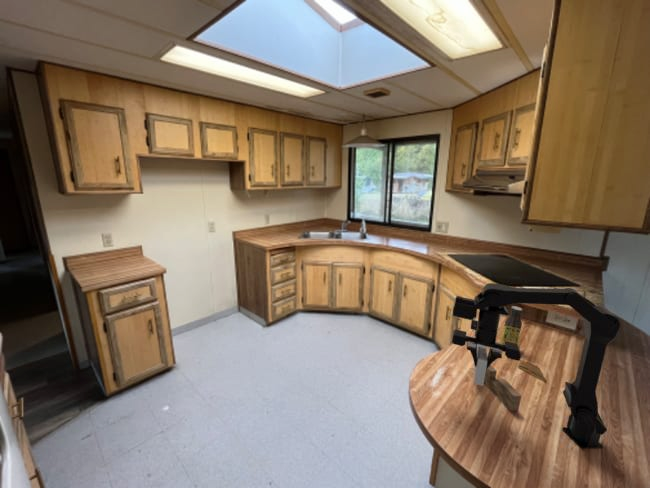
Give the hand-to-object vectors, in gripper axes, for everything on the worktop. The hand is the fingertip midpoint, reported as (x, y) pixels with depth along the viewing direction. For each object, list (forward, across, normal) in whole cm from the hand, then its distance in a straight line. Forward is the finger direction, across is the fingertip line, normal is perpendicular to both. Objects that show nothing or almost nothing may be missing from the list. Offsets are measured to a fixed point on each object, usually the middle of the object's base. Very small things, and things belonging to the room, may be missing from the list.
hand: (480, 367), depth 92 cm
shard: (+14, -21, -30) cm, 39 cm away
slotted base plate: (+13, -6, -10) cm, 17 cm away
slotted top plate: (+4, 0, -7) cm, 8 cm away
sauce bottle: (+13, -13, -43) cm, 47 cm away
